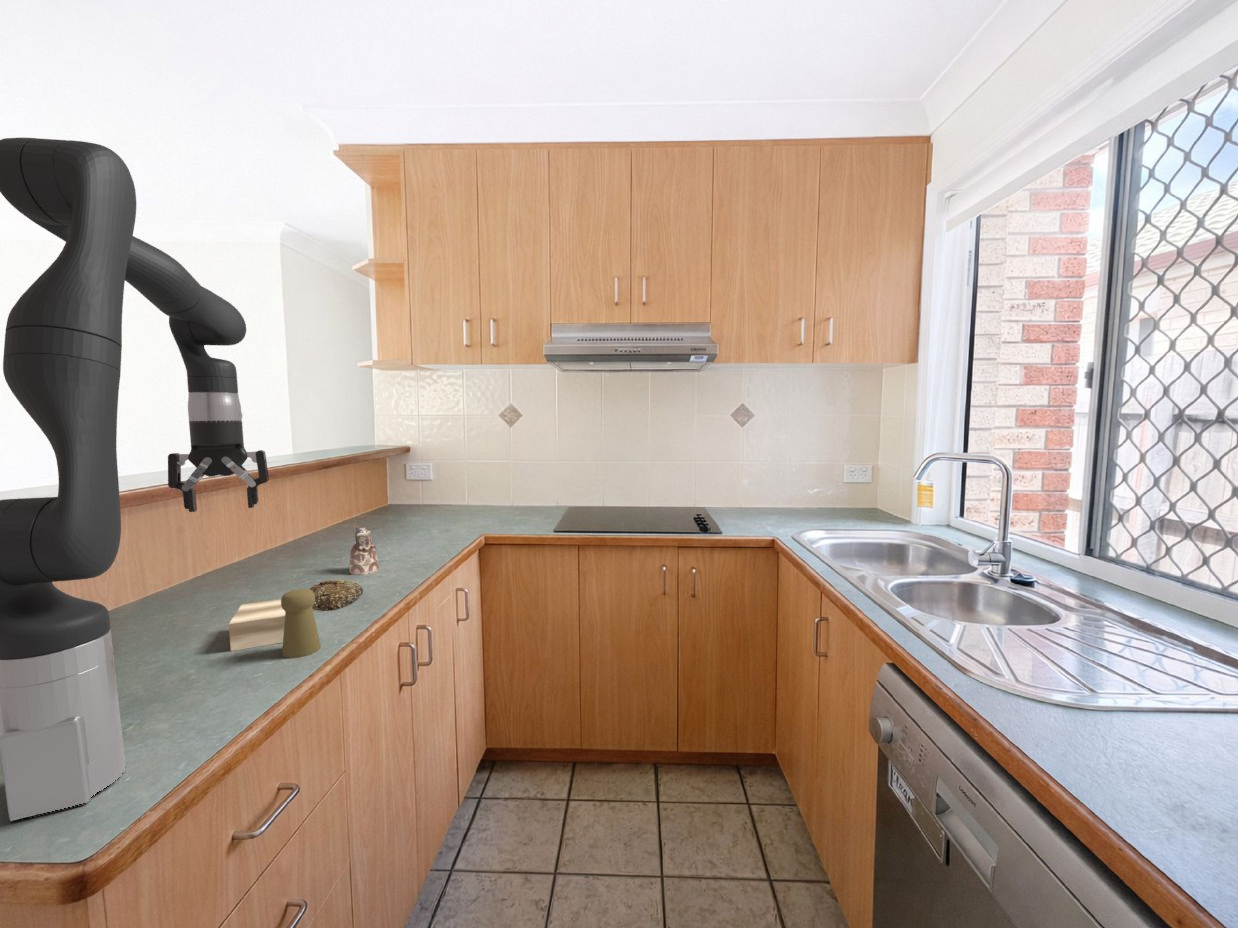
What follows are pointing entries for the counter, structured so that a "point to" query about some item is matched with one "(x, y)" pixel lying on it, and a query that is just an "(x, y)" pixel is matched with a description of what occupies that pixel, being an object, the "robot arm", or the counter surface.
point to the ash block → (257, 625)
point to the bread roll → (335, 594)
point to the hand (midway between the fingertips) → (223, 509)
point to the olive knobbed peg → (299, 624)
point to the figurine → (363, 553)
